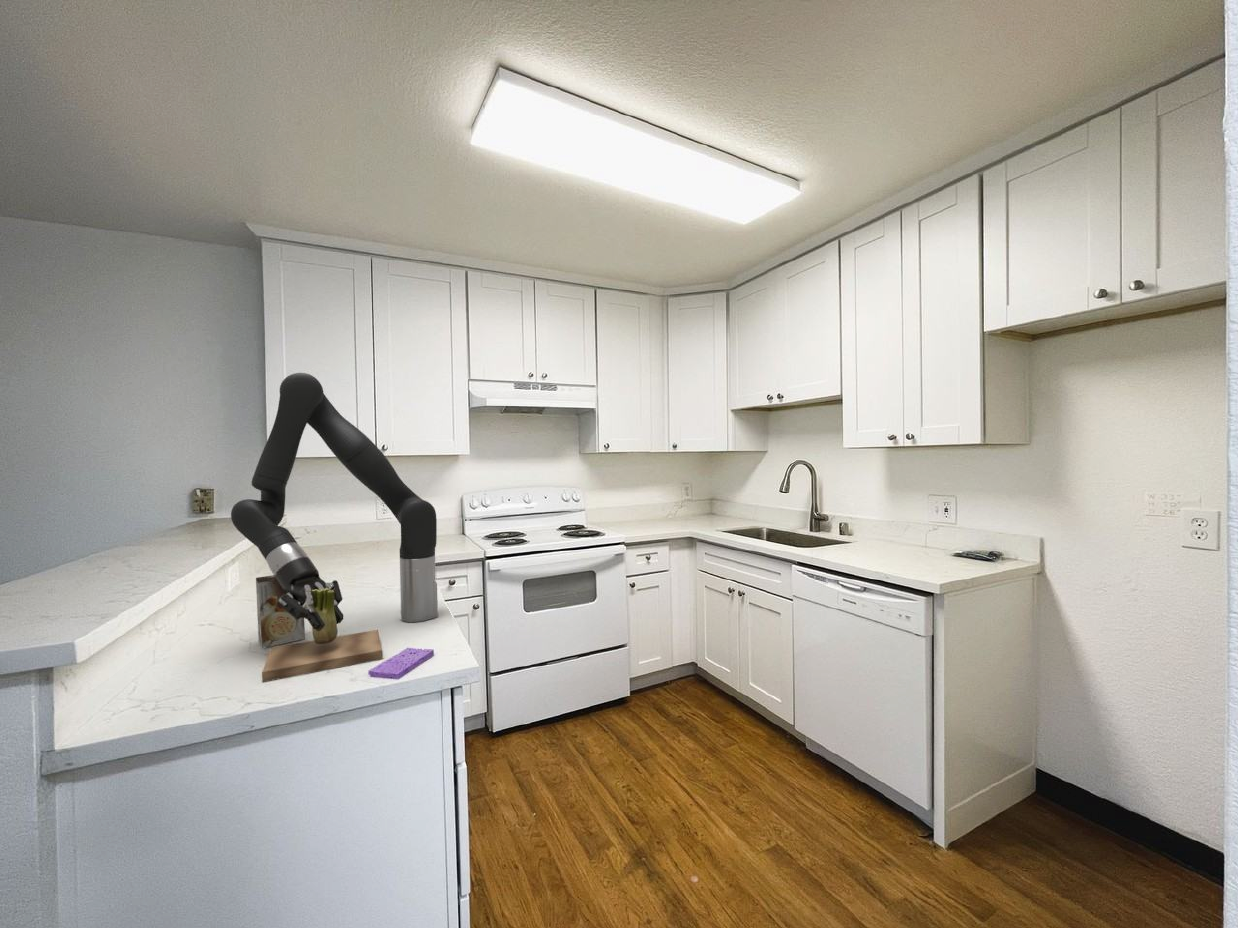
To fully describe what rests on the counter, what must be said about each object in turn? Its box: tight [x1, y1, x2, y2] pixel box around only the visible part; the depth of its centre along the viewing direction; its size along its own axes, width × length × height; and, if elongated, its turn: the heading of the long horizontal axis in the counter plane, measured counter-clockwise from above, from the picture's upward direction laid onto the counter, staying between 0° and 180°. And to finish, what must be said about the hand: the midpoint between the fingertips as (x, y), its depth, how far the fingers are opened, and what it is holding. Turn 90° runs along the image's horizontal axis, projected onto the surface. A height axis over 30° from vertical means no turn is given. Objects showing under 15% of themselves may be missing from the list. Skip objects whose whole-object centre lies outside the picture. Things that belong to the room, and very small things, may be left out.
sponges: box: [367, 647, 435, 680], centre depth 108 cm, size 7×13×2 cm, turn 166°
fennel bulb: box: [311, 588, 339, 644], centre depth 112 cm, size 6×5×12 cm
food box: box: [255, 574, 306, 649], centre depth 123 cm, size 9×6×16 cm
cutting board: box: [261, 629, 383, 683], centre depth 113 cm, size 22×15×2 cm
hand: (330, 624), depth 112 cm, fingers closed on fennel bulb, 4 cm apart
